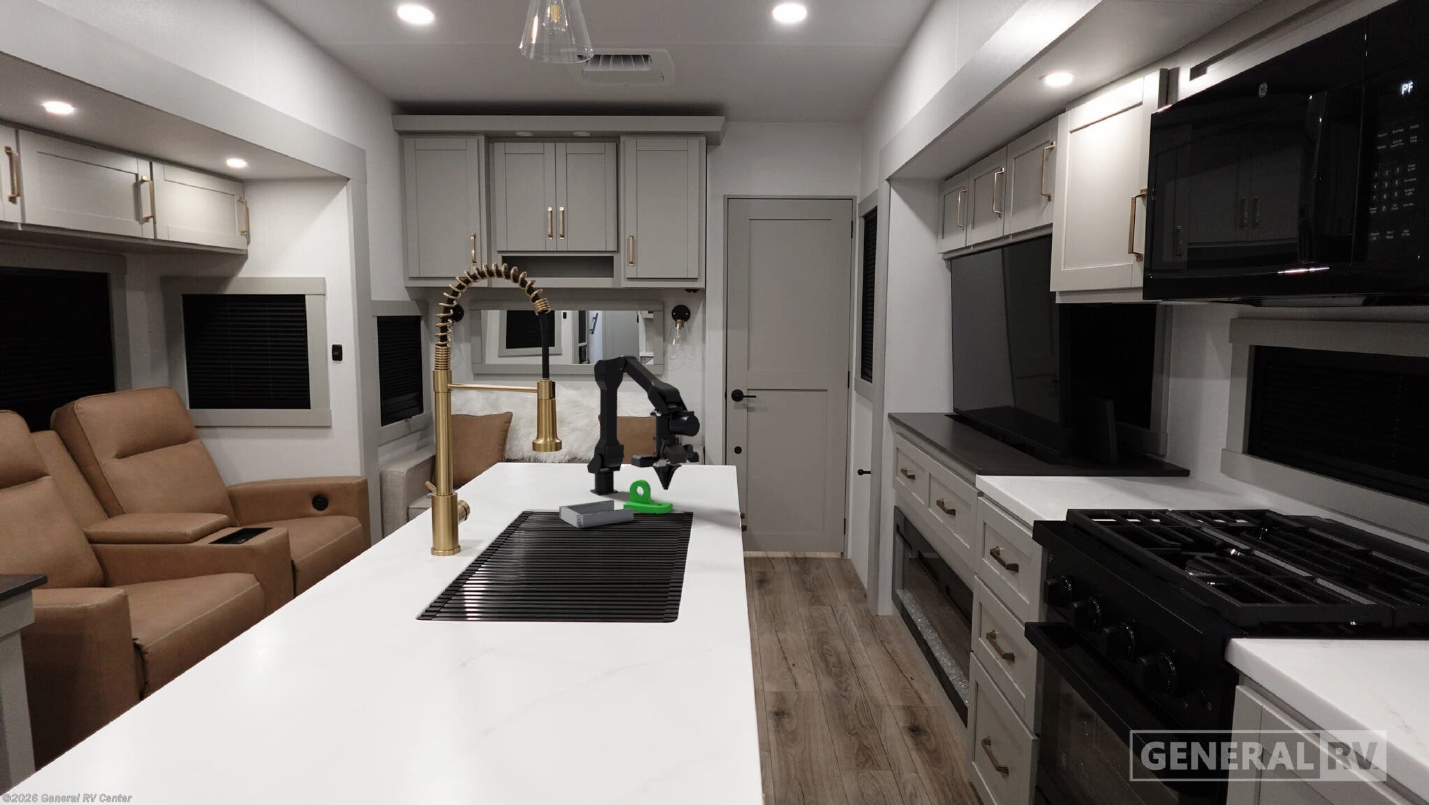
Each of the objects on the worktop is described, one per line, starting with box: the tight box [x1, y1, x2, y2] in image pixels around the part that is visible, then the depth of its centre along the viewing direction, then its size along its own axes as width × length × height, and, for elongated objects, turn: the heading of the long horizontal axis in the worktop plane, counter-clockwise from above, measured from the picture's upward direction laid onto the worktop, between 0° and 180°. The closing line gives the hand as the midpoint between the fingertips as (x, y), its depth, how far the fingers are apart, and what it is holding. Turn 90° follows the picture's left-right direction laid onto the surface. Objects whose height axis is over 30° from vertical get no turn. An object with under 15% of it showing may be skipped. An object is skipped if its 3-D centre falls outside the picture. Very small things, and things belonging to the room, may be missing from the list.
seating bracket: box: [558, 499, 634, 529], centre depth 193 cm, size 12×15×3 cm
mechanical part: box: [622, 479, 674, 515], centre depth 203 cm, size 12×6×8 cm, turn 72°
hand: (665, 489), depth 205 cm, fingers closed
